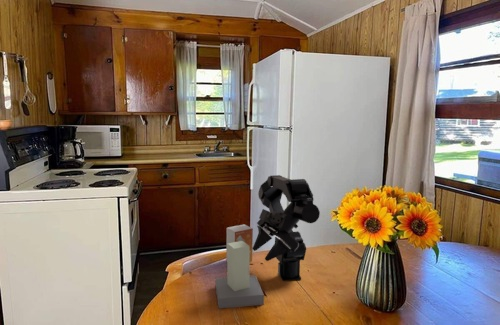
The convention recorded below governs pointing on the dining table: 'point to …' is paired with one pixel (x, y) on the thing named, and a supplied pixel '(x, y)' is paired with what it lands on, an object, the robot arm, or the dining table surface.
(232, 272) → the sage block
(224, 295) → the plinth
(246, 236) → the small box
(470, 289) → the dining table surface
